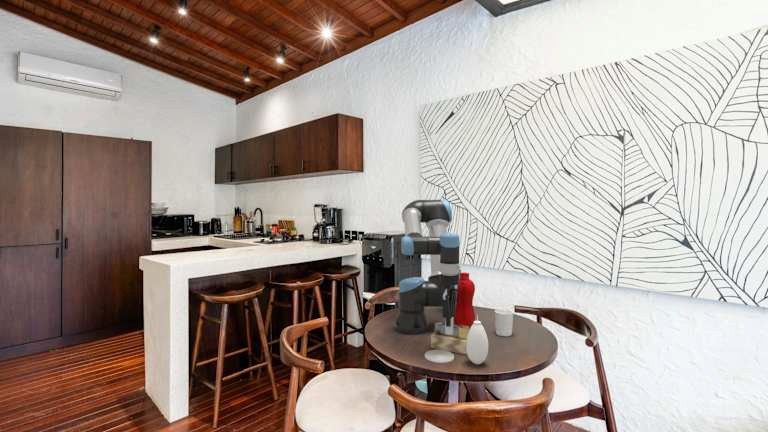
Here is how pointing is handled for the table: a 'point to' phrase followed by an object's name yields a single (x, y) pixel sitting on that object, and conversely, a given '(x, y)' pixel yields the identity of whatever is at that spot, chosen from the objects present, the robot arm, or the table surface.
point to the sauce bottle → (477, 343)
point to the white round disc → (439, 356)
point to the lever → (457, 330)
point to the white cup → (503, 322)
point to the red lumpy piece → (464, 301)
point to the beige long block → (448, 343)
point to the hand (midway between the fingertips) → (449, 333)
